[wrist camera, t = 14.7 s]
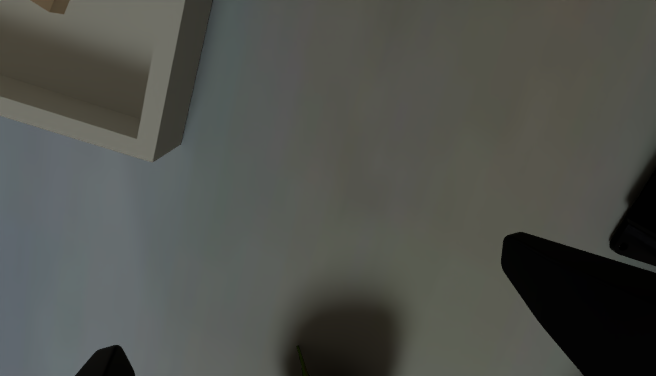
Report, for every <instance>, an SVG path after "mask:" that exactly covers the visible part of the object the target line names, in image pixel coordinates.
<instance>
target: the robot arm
mask: <svg viewBox="0 0 656 376" xmlns="http://www.w3.org/2000/svg"><path fill="white" fill-rule="evenodd" d="M621 243H623V245H622V246H620V244H621ZM619 246H620V247H619ZM610 248H611V250H613V251H614V252H616V253H617V254H620V255H623V256H626V257H629V258H632V259H635V260H638V261H641V262H644V263H647V264H650V265H653V266H656V170H655V171H654V173H653V174H652V176H651V178H650V179H649V181H648V182H647V184H646V186H645V187H644V189H643V190H642V192H641V193H640V195H639V197H638V198H637V200H636V201H635V203H634V205H633V206H632V208H631V209H630V211H629V213H628V214H627V216H626V217H625V219H624V220H623V222H622V224H621V225H620V227H619V228H618V230H617V232H616V233H615V235H614V236H613V238H612V240H611V241H610ZM501 266H502V269H503V271H504V273H505V274H506V276H507V277H508V278H509V280H510V281H511V283H512V284H513V286H514V287H515V289H516V290H517V291H518V293H519V294H520V296H521V297H522V299H523V300H524V302H525V303H526V304H527V306H528V307H529V309H530V310H531V312H532V313H533V315H534V316H535V317H536V319H537V320H538V321H539V323H540V324H541V325H542V326H543V328H544V329H545V330H546V331H547V333H548V334H549V335H550V336H551V337H552V339H553V340H554V341H555V342H556V343H557V344H558V346H559V347H560V348H561V349H562V350H563V352H564V353H565V354H566V355H567V356H568V357H569V359H570V360H571V361H572V362H573V363H574V365H575V366H576V367H577V368H578V369H579V370H580V372H581V373H582V374H583V375H584V376H656V273H654V272H651V271H648V270H645V269H641V268H638V267H635V266H631V265H628V264H625V263H622V262H618V261H615V260H612V259H609V258H605V257H602V256H599V255H596V254H592V253H589V252H586V251H583V250H579V249H576V248H573V247H569V246H566V245H563V244H560V243H556V242H553V241H550V240H547V239H543V238H540V237H537V236H534V235H530V234H527V233H524V232H517V233H514V234H510V235H507V236H506V237H505V238H504V240H503V248H502V256H501ZM75 376H135V373H134V370H133V368H132V366H131V364H130V362H129V360H128V358H127V356H126V354H125V352H124V351H123V349H122V347H121V346H119V345H113V346H110V347H106V348H103V349H100V350H97V351H96V352H95V353H94V354H93V355H92V356H91V358H90V359H89V360H88V361H87V362H86V363H85V365H84V366H83V367H82V368H81V369H80V370H79V372H78V373H77V374H76V375H75Z"/></svg>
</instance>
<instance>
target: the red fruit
mask: <svg viewBox="0 0 656 376" xmlns="http://www.w3.org/2000/svg"><path fill="white" fill-rule="evenodd" d="M297 349H298V353H299V358H300V361H301V365H302V375H303V376H309V374H308V371H307V369H306V366H305V363H304V360H303V357H302V354H301V351H300V349H299V346H297Z"/></svg>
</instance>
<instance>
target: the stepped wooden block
mask: <svg viewBox="0 0 656 376" xmlns="http://www.w3.org/2000/svg"><path fill="white" fill-rule="evenodd" d="M31 1H32V2H34V3H35V4H37V5H39V6H40V7H42V8H43V9H45V10H47V11H48V12H52V13H58V14H64V13H65V11H66V8H67V6H68V4H69V1H70V0H31Z"/></svg>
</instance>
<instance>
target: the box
mask: <svg viewBox="0 0 656 376" xmlns="http://www.w3.org/2000/svg"><path fill="white" fill-rule="evenodd" d="M212 1H213V0H70V1H69V4H68V6H67V8H66V11H65V13H64V14H58V13H52V12H48V11H47V10H45V9H43V8H42V7H40V6H39V5H37V4H35V3H34V2H32V1H31V0H0V116H3V117H6V118H9V119H13V120H16V121H19V122H22V123H26V124H29V125H32V126H35V127H39V128H42V129H45V130H48V131H52V132H55V133H58V134H61V135H65V136H68V137H71V138H74V139H78V140H81V141H84V142H87V143H91V144H94V145H97V146H101V147H104V148H107V149H110V150H114V151H117V152H120V153H123V154H127V155H130V156H133V157H136V158H140V159H143V160H146V161H149V162H154V161H156V160H157V159H159V158H160V157H162V156H164V155H165V154H167V153H168V152H170V151H171V150H173V149H174V148H176V147H178V146H179V145H181V141H182V137H183V132H184V128H185V123H186V119H187V114H188V110H189V105H190V101H191V96H192V92H193V87H194V83H195V78H196V73H197V69H198V64H199V60H200V55H201V51H202V46H203V42H204V37H205V33H206V28H207V24H208V19H209V15H210V10H211V6H212Z"/></svg>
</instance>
